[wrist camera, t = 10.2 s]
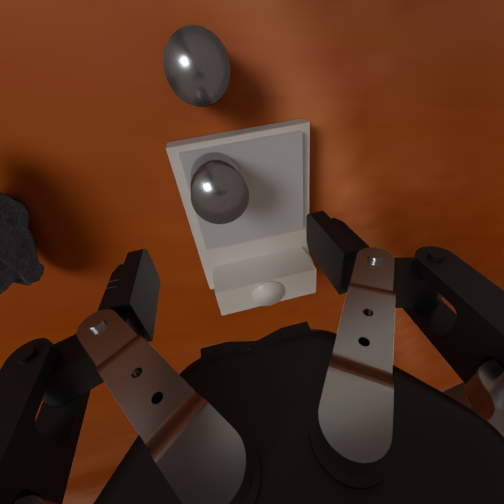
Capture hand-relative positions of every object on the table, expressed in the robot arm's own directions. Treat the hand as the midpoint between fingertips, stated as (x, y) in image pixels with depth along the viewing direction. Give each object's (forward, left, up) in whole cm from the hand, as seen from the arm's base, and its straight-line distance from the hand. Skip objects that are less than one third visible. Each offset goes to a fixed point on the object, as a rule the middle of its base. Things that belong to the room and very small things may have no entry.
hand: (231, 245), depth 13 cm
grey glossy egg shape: (+1, 0, -13) cm, 13 cm away
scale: (+6, +3, -16) cm, 17 cm away
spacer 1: (-7, +1, -16) cm, 17 cm away
